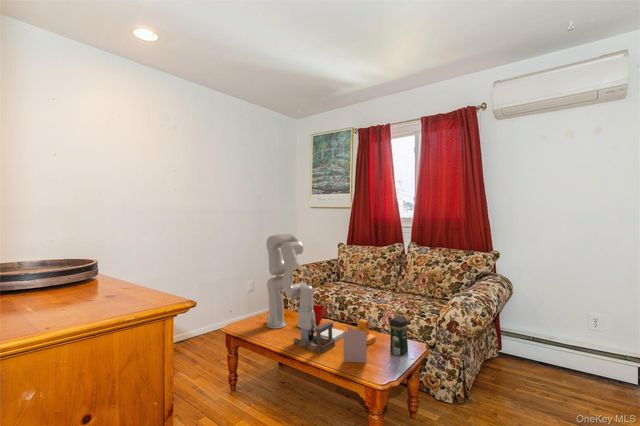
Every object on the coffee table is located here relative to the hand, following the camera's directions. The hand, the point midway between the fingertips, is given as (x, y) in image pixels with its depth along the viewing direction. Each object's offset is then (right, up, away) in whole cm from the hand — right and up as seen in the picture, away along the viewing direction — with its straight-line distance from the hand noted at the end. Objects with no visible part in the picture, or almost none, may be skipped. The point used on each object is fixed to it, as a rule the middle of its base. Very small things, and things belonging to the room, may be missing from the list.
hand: (307, 339), depth 182 cm
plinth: (+14, -2, +8) cm, 16 cm away
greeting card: (+24, -2, -23) cm, 33 cm away
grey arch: (+10, +1, -8) cm, 13 cm away
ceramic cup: (+3, -2, +30) cm, 30 cm away
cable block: (0, -2, 0) cm, 2 cm away
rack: (+4, -2, -3) cm, 5 cm away
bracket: (+33, -2, +1) cm, 33 cm away
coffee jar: (+49, -2, -14) cm, 51 cm away
